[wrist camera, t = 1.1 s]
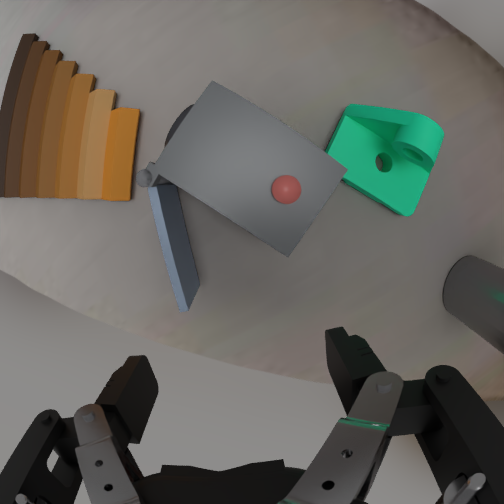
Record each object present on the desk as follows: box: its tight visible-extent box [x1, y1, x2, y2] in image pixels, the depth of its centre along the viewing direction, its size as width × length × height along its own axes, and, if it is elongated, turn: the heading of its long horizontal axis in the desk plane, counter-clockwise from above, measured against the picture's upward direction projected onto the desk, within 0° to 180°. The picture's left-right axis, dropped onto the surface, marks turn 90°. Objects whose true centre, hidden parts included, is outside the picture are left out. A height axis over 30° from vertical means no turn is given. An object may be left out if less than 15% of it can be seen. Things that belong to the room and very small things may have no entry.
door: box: [148, 176, 200, 312], centre depth 27 cm, size 12×2×7 cm, turn 11°
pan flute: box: [0, 34, 140, 201], centre depth 25 cm, size 25×3×25 cm
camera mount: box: [325, 104, 444, 216], centre depth 24 cm, size 12×8×10 cm, turn 64°
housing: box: [136, 81, 348, 257], centre depth 24 cm, size 13×10×11 cm
